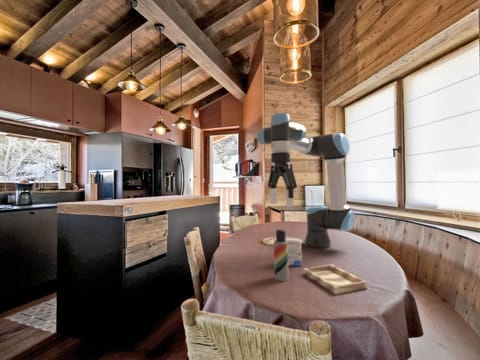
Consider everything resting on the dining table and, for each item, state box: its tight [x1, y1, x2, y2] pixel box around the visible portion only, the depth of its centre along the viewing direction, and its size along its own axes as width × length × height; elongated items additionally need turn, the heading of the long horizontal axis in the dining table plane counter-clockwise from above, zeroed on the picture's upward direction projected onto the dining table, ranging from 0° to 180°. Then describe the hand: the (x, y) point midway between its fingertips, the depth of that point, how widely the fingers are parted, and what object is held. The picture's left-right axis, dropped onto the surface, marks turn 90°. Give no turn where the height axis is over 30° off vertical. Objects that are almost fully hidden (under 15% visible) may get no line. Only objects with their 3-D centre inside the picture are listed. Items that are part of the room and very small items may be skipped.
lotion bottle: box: [273, 228, 290, 282], centre depth 103 cm, size 6×6×20 cm
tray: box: [303, 264, 368, 295], centre depth 100 cm, size 20×14×2 cm
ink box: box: [286, 237, 303, 267], centre depth 121 cm, size 9×5×12 cm, turn 71°
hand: (281, 205), depth 103 cm, fingers open, 13 cm apart
